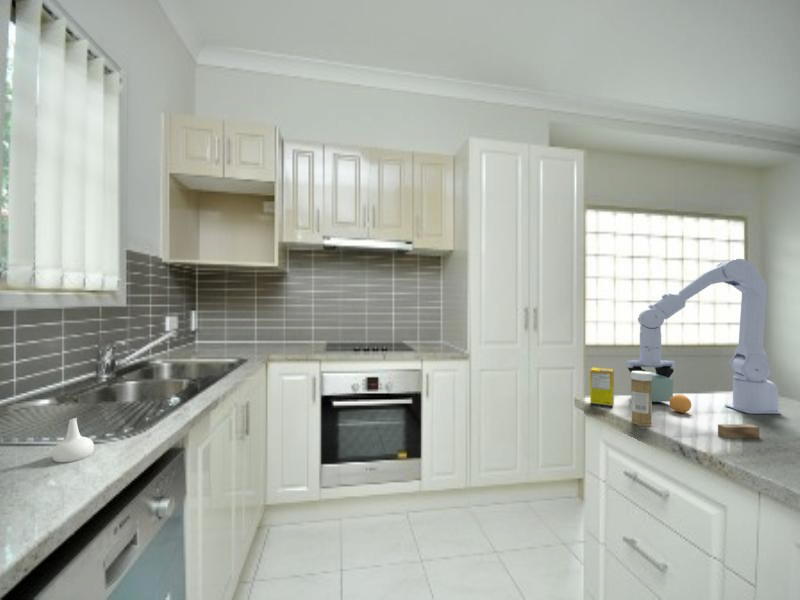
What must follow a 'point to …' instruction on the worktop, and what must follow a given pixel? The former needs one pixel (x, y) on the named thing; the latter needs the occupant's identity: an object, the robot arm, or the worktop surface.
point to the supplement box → (602, 387)
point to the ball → (680, 403)
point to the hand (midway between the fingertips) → (650, 390)
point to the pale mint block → (660, 388)
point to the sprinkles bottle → (641, 398)
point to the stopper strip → (738, 431)
